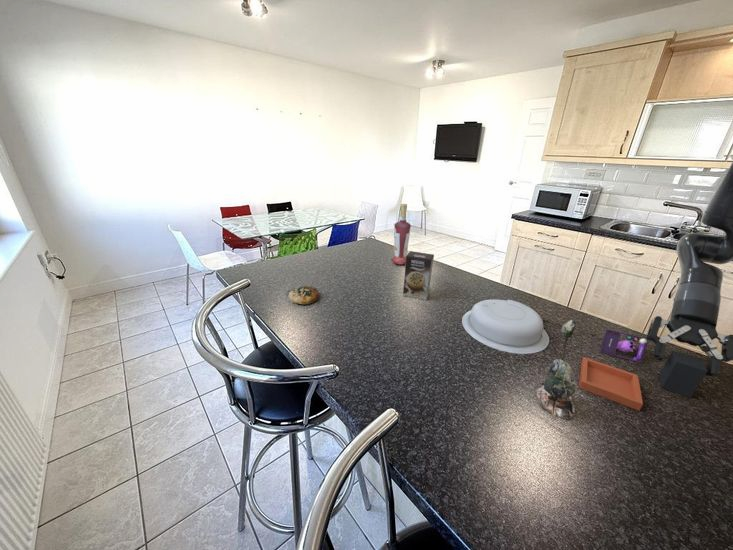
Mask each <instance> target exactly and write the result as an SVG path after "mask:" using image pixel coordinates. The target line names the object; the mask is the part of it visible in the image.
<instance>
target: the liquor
mask: <svg viewBox="0 0 733 550" xmlns="http://www.w3.org/2000/svg"><path fill="white" fill-rule="evenodd" d="M407 209H408V204H407V203H400V216H399V221H397V222H395V223H394V231H393V259H392V263H394V264H395V265H397V266H404V265H406V256H407V255H408V249H409V243H410V242H409V241H410V233H411V227H412V226H411V224H410V223H409V222H408V221H407Z"/></svg>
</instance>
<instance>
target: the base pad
mask: <svg viewBox="0 0 733 550" xmlns="http://www.w3.org/2000/svg"><path fill="white" fill-rule="evenodd" d="M581 359H582V360H581V361H580V373H579V382H578V384H579V385H578V388H579V389H581V390H583V391H587V392H589V393H592V394H594V395H597V396H600V397H602V398H604V399H607V400H610V401H613V402H615V403H618V404H620V405H623V406H626V407H628V408H629V409H633V410H635V411H638V412H640V411H641V410H642V407H643V405H644V401H643V397H642V390H641V386H640V379H639V375H638V374H635V373H633V372H630V371H627V370H624V369H621V368H618V367H616V366H612V365H609V364H606V363H603V362H600V361H597V360H594V359H591V358H588V357H585V356H583V357H582V358H581Z"/></svg>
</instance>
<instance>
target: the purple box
mask: <svg viewBox="0 0 733 550" xmlns="http://www.w3.org/2000/svg"><path fill="white" fill-rule="evenodd" d="M621 335H624V336H625V337H624V338H625V340H623V339H621V340H620V338H621ZM634 342H635V343H634ZM638 342H639V347H638V349H637V348H636V347H635V346H638V344H636V343H638ZM648 343H649V340H648V339H647V338H646V337H643V336H640V335H634V334H631V333H626V332H622V331H619V330H618V331H617V330H613V329H609V328H606V329H605V332H604V336H603V339H602V342H601V346H600V350H599V352H600V353H602V354H606V355H609V356H613V357H617V358H621V359H624V360H628V361H632V362H635V363H639V364H641V363H642V362H643V359H644V356H645V353H646V350H647V347H648ZM634 350H636V351H637V350H638V351H637V354H636V356H634V357H633V358H630V357H626V356H622V355H619V354H616V351H620V352H623V353H630V352H631V353H632V352H634Z"/></svg>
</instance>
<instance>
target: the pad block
mask: <svg viewBox="0 0 733 550" xmlns="http://www.w3.org/2000/svg"><path fill="white" fill-rule="evenodd" d="M706 368H707V366H706V365H705V362H704V361H703V359H702V358H700V357H696V356H693V355H690V354H687V353H682V352H679V351H675V350H672V351H671V352H670V354H669V355H668V358H667V359H666V362H665V363H664V365H663V366H662V369H661V371H660V373H659V374H658V376H657V377H658V381H659V384H660V388H661V389H663V390H666V391H668V392H672V393H674V394H677V395H681V396H684V397H686V398H690V399H691V398H692V397H693V395H694V394H695V392H696V391H697V388H698V387H699V386H700V384H701V383H702V381H703V379H704V378H705V376H706V373H707V369H706Z"/></svg>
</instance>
